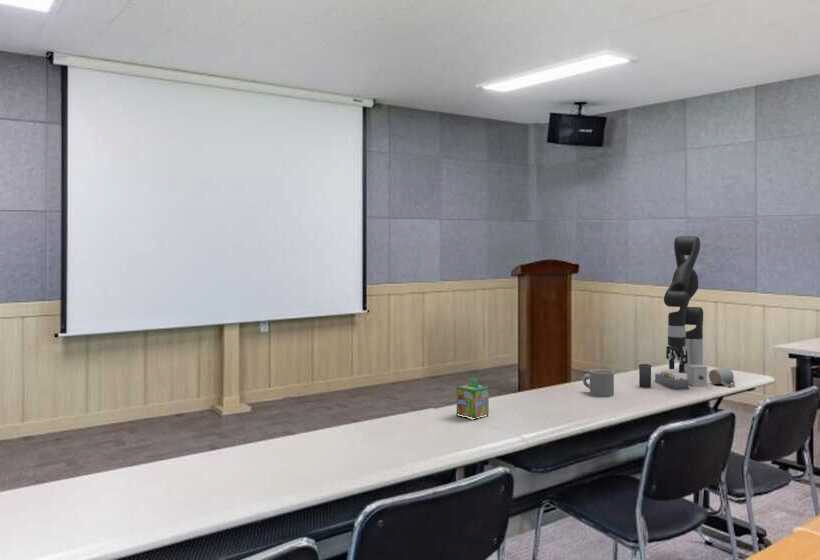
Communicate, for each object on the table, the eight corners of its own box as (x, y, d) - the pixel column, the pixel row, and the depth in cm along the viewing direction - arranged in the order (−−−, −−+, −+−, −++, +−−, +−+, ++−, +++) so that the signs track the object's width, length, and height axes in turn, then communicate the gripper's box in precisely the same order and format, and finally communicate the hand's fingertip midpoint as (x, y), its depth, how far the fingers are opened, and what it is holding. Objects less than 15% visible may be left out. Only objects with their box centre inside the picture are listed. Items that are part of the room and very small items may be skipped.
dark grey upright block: (637, 385, 290) (636, 364, 290) (648, 385, 290) (648, 363, 290) (641, 388, 285) (641, 366, 284) (653, 387, 285) (653, 366, 284)
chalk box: (455, 416, 242) (455, 378, 241) (471, 412, 248) (470, 374, 248) (474, 420, 235) (473, 381, 235) (489, 416, 242) (489, 377, 241)
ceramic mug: (707, 383, 292) (707, 367, 292) (720, 381, 295) (721, 365, 295) (725, 388, 283) (726, 371, 282) (739, 386, 285) (739, 370, 285)
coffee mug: (618, 394, 274) (618, 371, 274) (605, 397, 268) (605, 374, 267) (592, 389, 284) (591, 367, 284) (578, 392, 278) (578, 370, 278)
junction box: (686, 383, 293) (686, 364, 293) (699, 383, 294) (699, 364, 293) (695, 386, 286) (695, 367, 285) (708, 386, 286) (708, 367, 286)
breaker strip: (655, 382, 298) (655, 370, 297) (669, 381, 298) (669, 369, 298) (673, 389, 281) (673, 377, 280) (688, 389, 281) (688, 376, 281)
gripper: (660, 333, 291) (660, 368, 291) (677, 337, 277) (677, 374, 277) (676, 333, 291) (676, 367, 292) (693, 337, 277) (693, 373, 278)
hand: (676, 370), depth 285 cm, fingers open, 8 cm apart
